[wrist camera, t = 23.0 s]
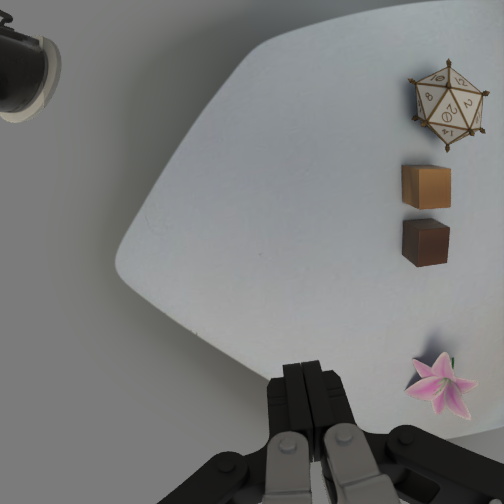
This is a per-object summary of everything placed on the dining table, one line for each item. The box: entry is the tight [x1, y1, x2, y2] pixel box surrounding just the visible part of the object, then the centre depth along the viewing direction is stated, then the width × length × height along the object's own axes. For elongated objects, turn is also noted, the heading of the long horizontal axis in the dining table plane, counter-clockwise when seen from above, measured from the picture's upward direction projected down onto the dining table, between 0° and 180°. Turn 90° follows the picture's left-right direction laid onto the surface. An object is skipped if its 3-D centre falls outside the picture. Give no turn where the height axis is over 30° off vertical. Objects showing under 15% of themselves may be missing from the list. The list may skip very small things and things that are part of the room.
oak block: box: [402, 165, 451, 210], centre depth 29 cm, size 4×4×4 cm
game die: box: [408, 59, 490, 152], centre depth 24 cm, size 9×8×10 cm
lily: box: [405, 352, 479, 420], centre depth 36 cm, size 12×12×10 cm
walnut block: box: [402, 218, 450, 267], centre depth 31 cm, size 4×4×4 cm
